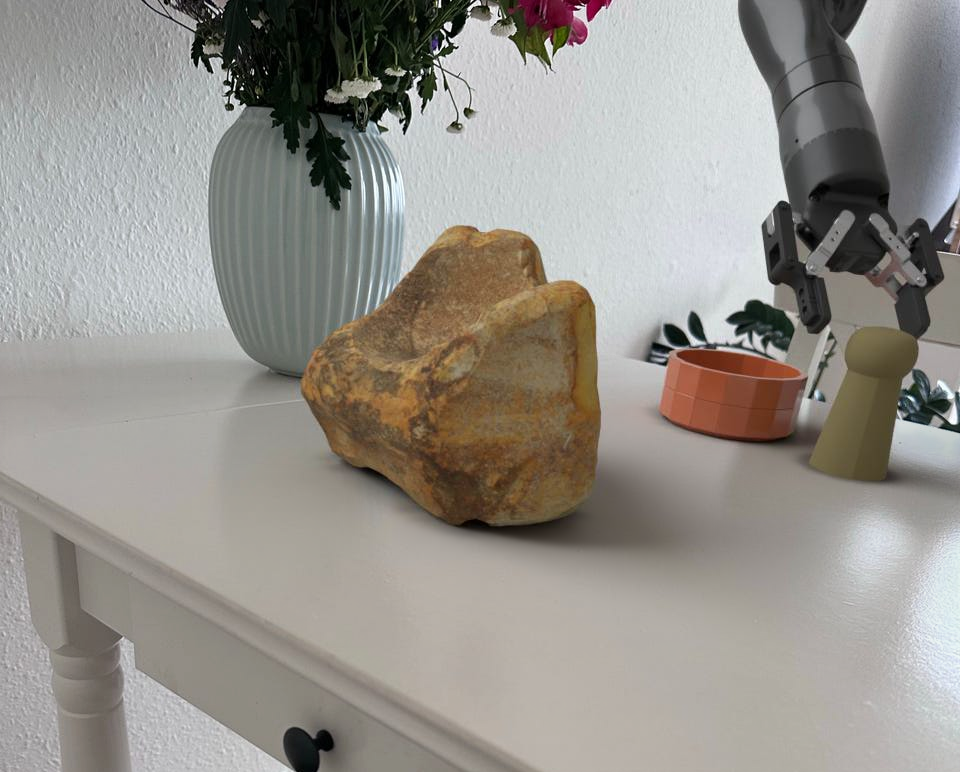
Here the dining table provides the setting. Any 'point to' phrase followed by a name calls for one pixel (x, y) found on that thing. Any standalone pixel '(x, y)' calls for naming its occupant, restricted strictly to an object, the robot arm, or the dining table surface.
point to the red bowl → (732, 394)
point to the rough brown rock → (469, 384)
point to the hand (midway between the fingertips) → (869, 332)
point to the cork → (866, 405)
